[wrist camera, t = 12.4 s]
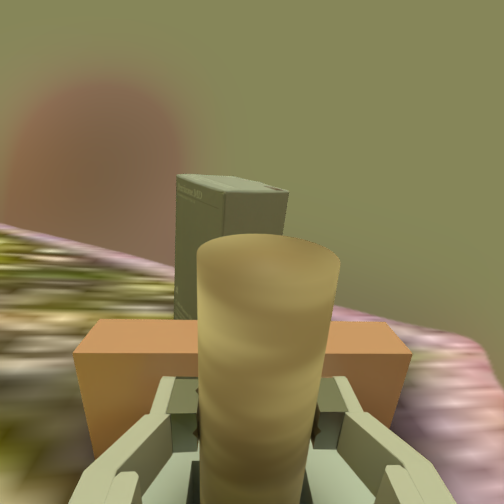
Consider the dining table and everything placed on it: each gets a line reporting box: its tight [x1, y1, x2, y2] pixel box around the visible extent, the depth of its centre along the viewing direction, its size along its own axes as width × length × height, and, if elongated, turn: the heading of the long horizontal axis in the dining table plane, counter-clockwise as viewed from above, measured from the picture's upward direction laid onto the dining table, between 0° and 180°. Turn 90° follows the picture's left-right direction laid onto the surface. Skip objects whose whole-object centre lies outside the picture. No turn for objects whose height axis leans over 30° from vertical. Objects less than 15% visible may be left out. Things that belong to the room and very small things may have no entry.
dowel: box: [197, 234, 340, 504], centre depth 10 cm, size 4×4×14 cm
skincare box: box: [174, 174, 289, 320], centre depth 26 cm, size 8×7×16 cm
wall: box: [73, 319, 412, 460], centre depth 17 cm, size 3×18×8 cm, turn 93°
